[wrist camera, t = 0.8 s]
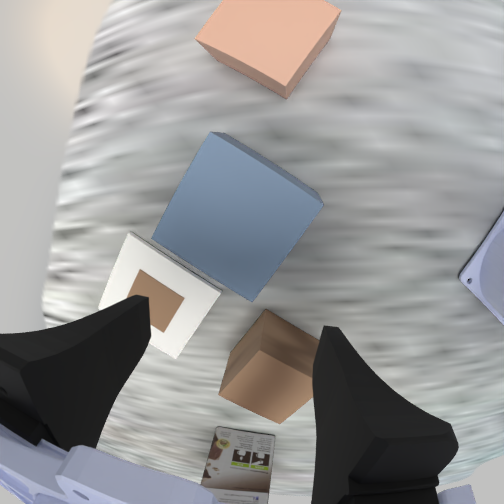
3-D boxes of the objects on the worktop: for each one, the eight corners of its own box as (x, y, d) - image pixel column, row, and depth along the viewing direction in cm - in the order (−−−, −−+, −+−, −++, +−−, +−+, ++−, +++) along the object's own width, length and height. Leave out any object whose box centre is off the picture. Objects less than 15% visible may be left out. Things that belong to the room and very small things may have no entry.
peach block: (329, 38, 16) (341, 10, 11) (286, 99, 18) (285, 86, 13) (260, 2, 15) (251, -33, 11) (217, 60, 17) (194, 38, 13)
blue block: (317, 192, 20) (324, 204, 16) (258, 274, 22) (252, 302, 18) (225, 133, 19) (210, 131, 15) (174, 220, 21) (151, 238, 18)
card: (221, 290, 23) (220, 294, 22) (177, 356, 25) (175, 360, 25) (130, 231, 22) (127, 233, 21) (100, 305, 25) (97, 308, 24)
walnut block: (321, 340, 23) (326, 385, 19) (282, 380, 25) (279, 424, 20) (265, 308, 23) (259, 350, 18) (230, 352, 25) (218, 394, 20)
